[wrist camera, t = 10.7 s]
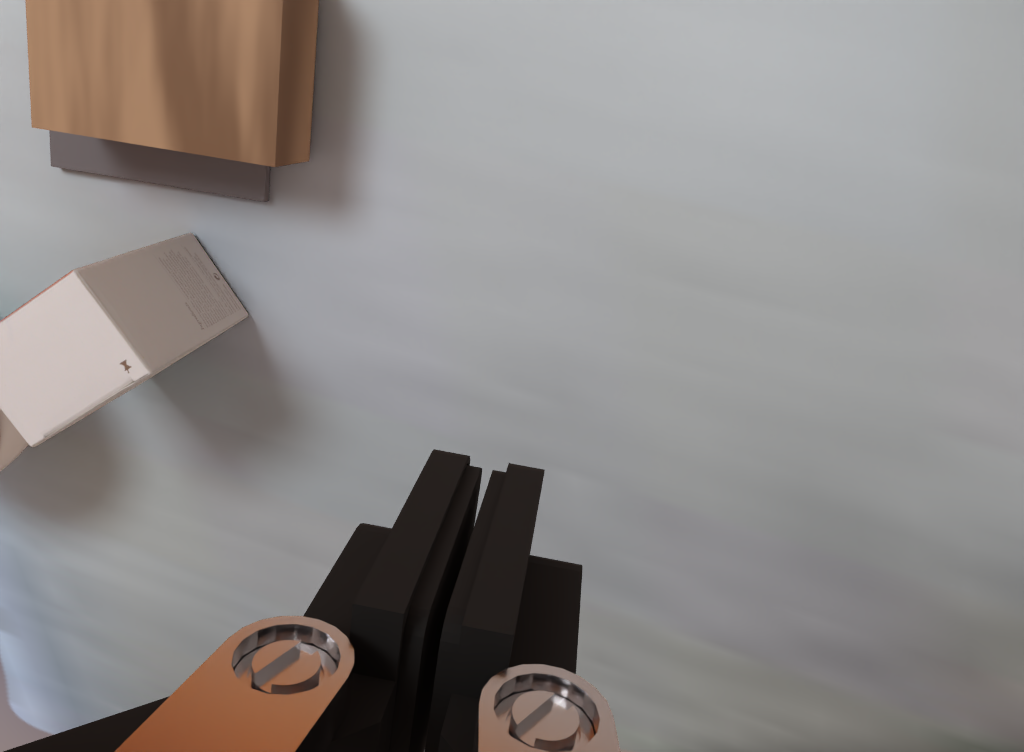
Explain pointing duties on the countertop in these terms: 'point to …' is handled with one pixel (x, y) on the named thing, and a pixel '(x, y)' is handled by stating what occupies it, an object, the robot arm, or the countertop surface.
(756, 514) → the countertop surface
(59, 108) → the slab
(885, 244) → the countertop surface
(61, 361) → the small box
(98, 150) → the mat
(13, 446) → the lidded jar
